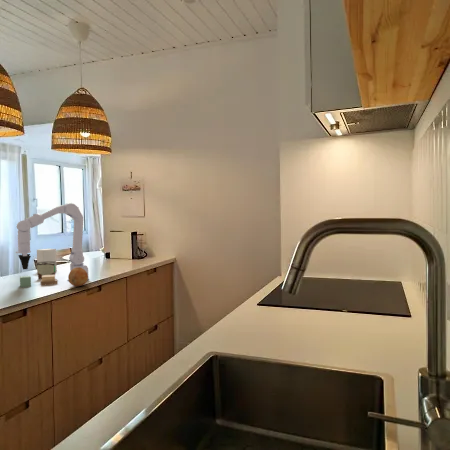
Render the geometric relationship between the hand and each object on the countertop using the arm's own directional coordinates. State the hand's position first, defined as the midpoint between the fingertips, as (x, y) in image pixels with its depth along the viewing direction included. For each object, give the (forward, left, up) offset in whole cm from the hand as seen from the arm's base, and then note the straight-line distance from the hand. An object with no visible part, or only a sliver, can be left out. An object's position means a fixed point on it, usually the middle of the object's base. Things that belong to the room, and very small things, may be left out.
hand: (24, 268), depth 209 cm
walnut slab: (-7, -9, -10) cm, 15 cm away
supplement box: (+31, -43, -10) cm, 54 cm away
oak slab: (-7, -9, -8) cm, 14 cm away
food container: (+7, -22, -10) cm, 25 cm away
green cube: (0, 0, -10) cm, 10 cm away
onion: (-29, -8, -10) cm, 32 cm away
